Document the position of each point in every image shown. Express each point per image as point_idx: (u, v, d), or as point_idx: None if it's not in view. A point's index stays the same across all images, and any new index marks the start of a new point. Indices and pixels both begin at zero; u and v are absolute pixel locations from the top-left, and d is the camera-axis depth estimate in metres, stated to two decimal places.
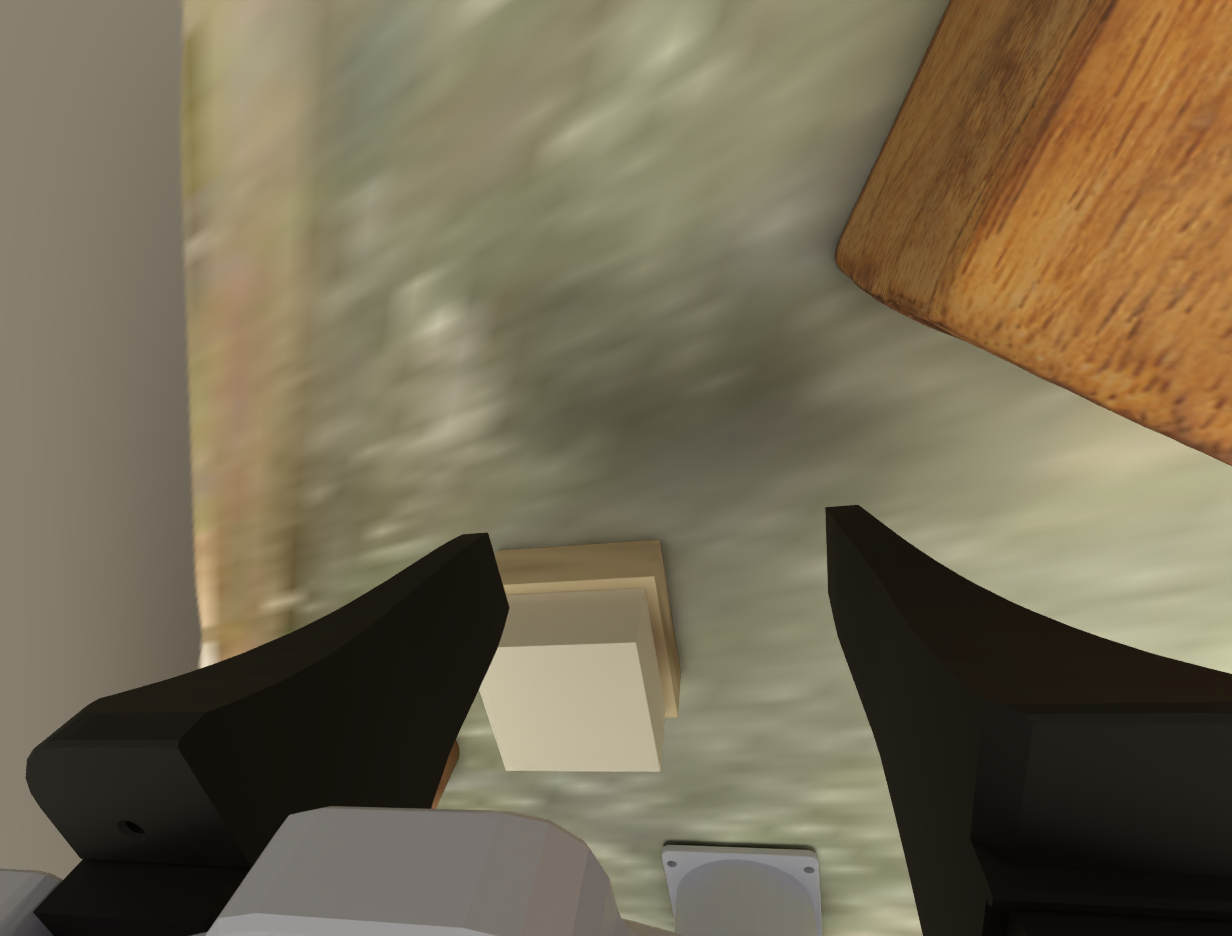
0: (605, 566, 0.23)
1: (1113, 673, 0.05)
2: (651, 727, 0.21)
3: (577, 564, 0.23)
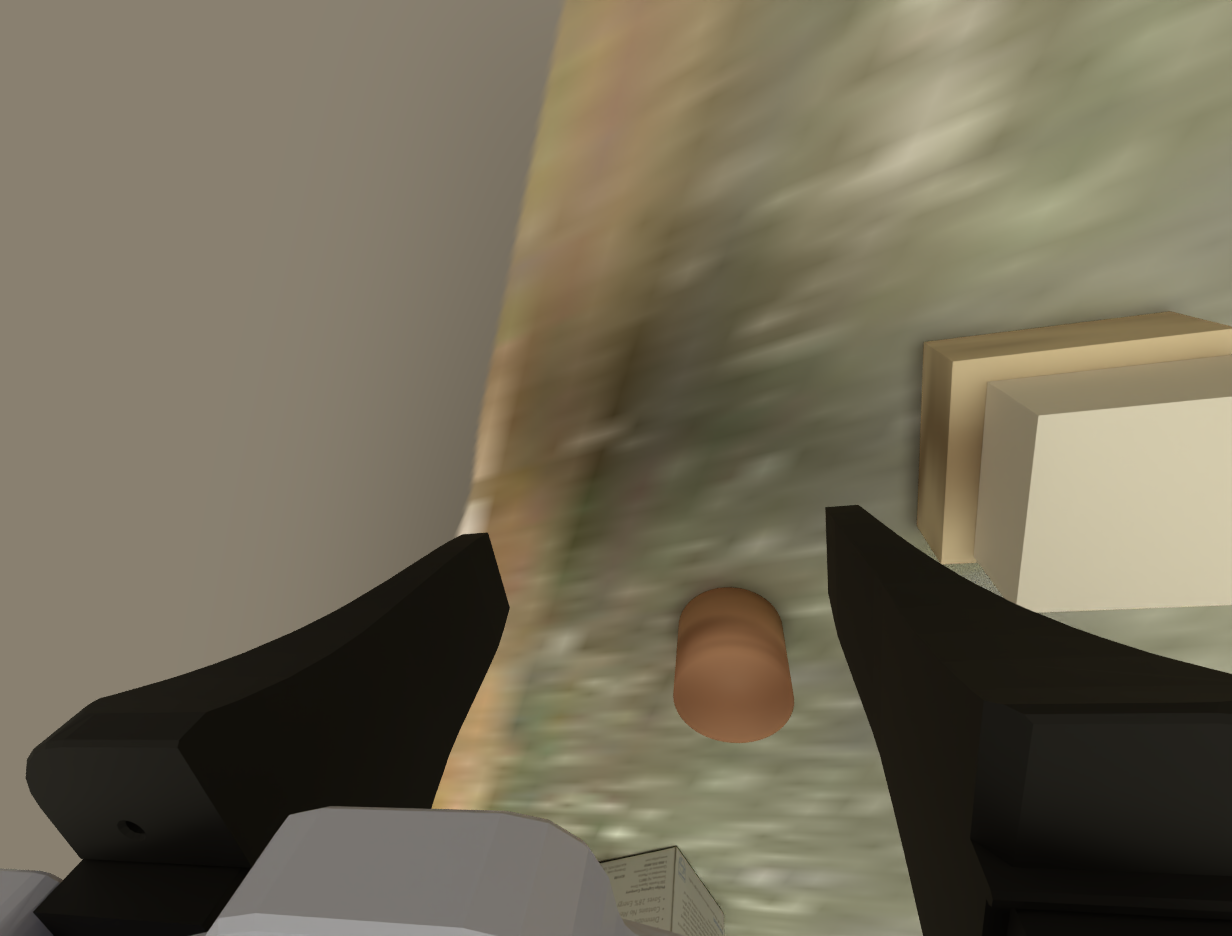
0: (1133, 331, 0.17)
1: (1111, 673, 0.05)
2: None
3: (1079, 335, 0.17)
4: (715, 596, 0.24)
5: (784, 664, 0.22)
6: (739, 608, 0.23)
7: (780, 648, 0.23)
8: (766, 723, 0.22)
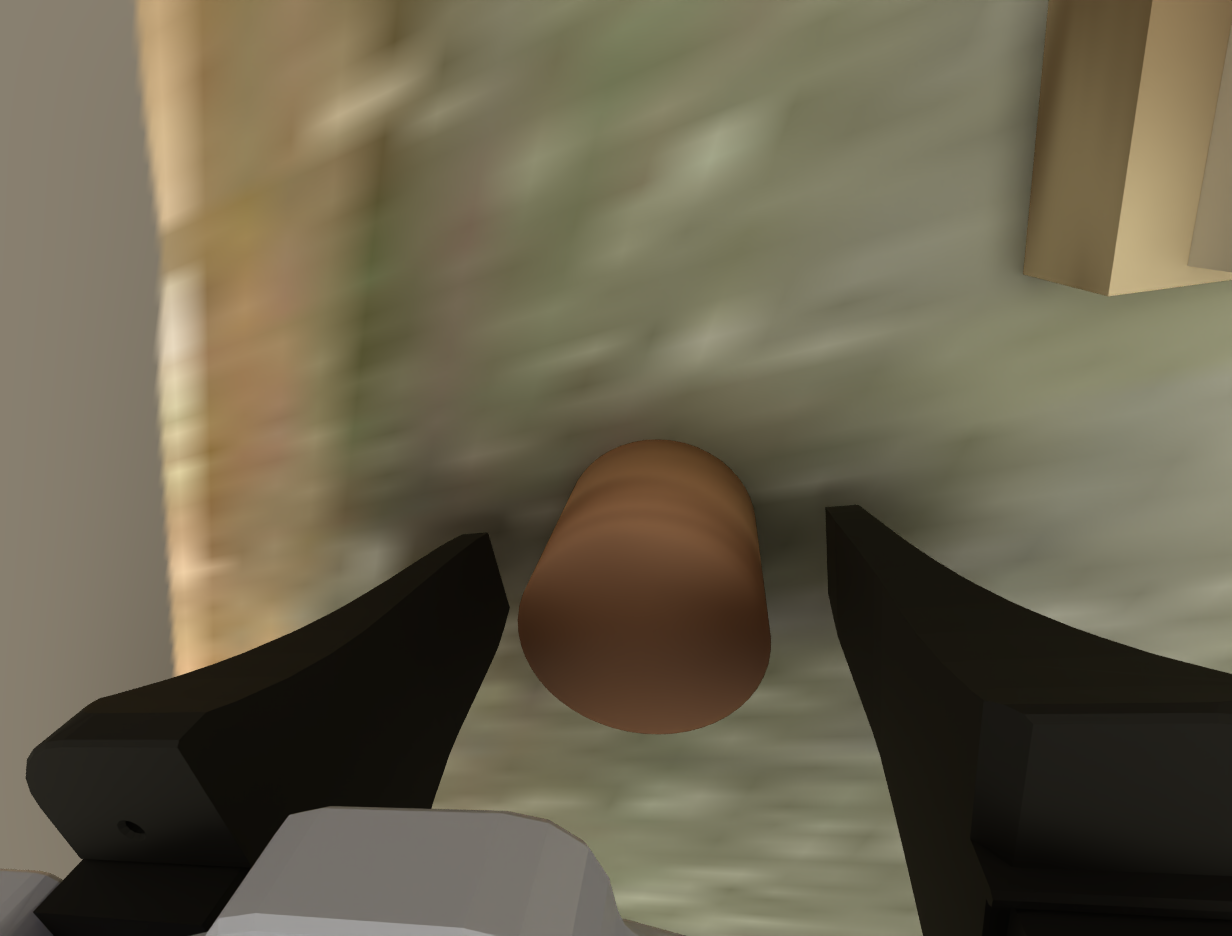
0: None
1: (1112, 671, 0.05)
2: None
3: None
4: (625, 452, 0.13)
5: (751, 565, 0.10)
6: (665, 466, 0.12)
7: (745, 537, 0.11)
8: (713, 692, 0.11)
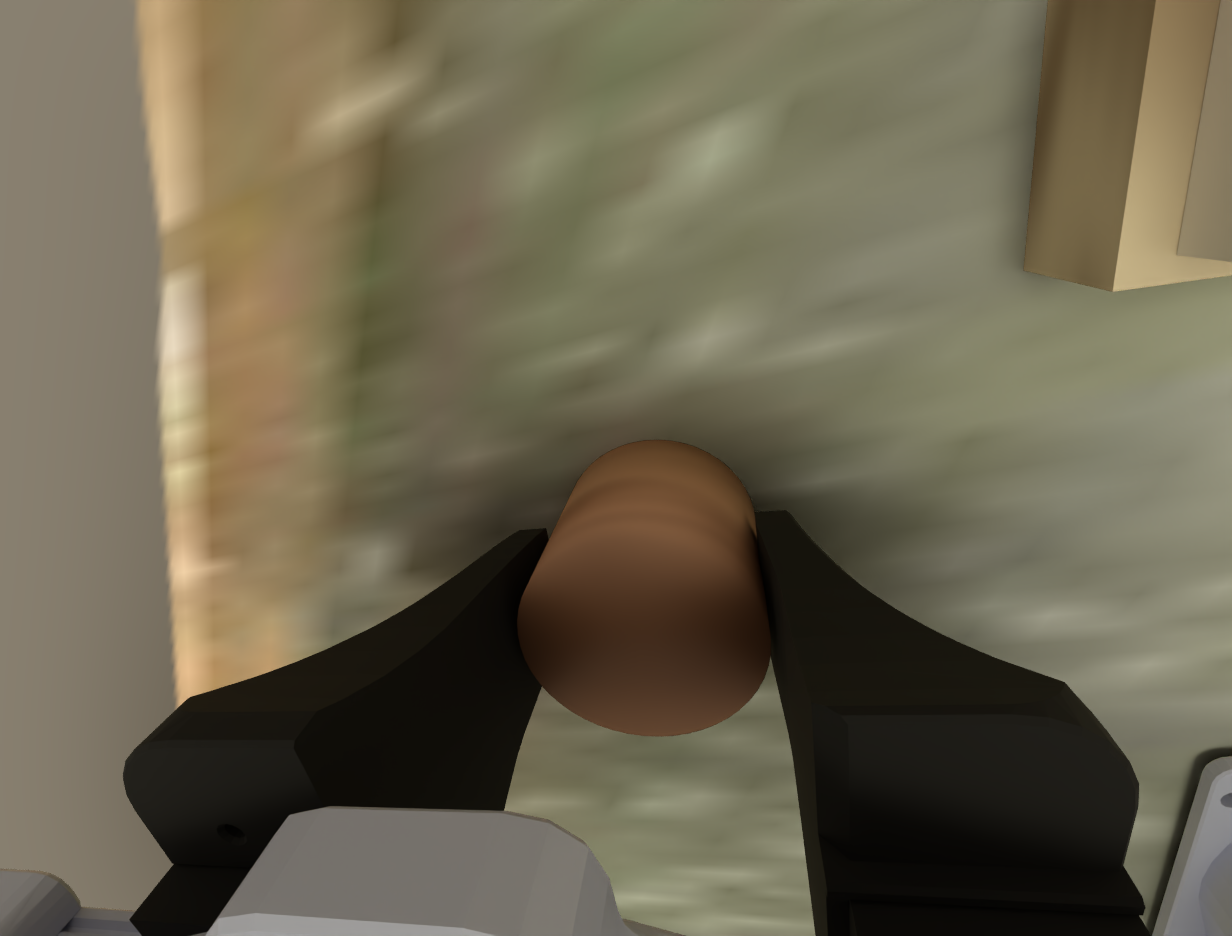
0: None
1: (946, 675, 0.05)
2: None
3: None
4: (625, 453, 0.13)
5: (751, 567, 0.10)
6: (664, 467, 0.12)
7: (745, 539, 0.11)
8: (713, 695, 0.10)
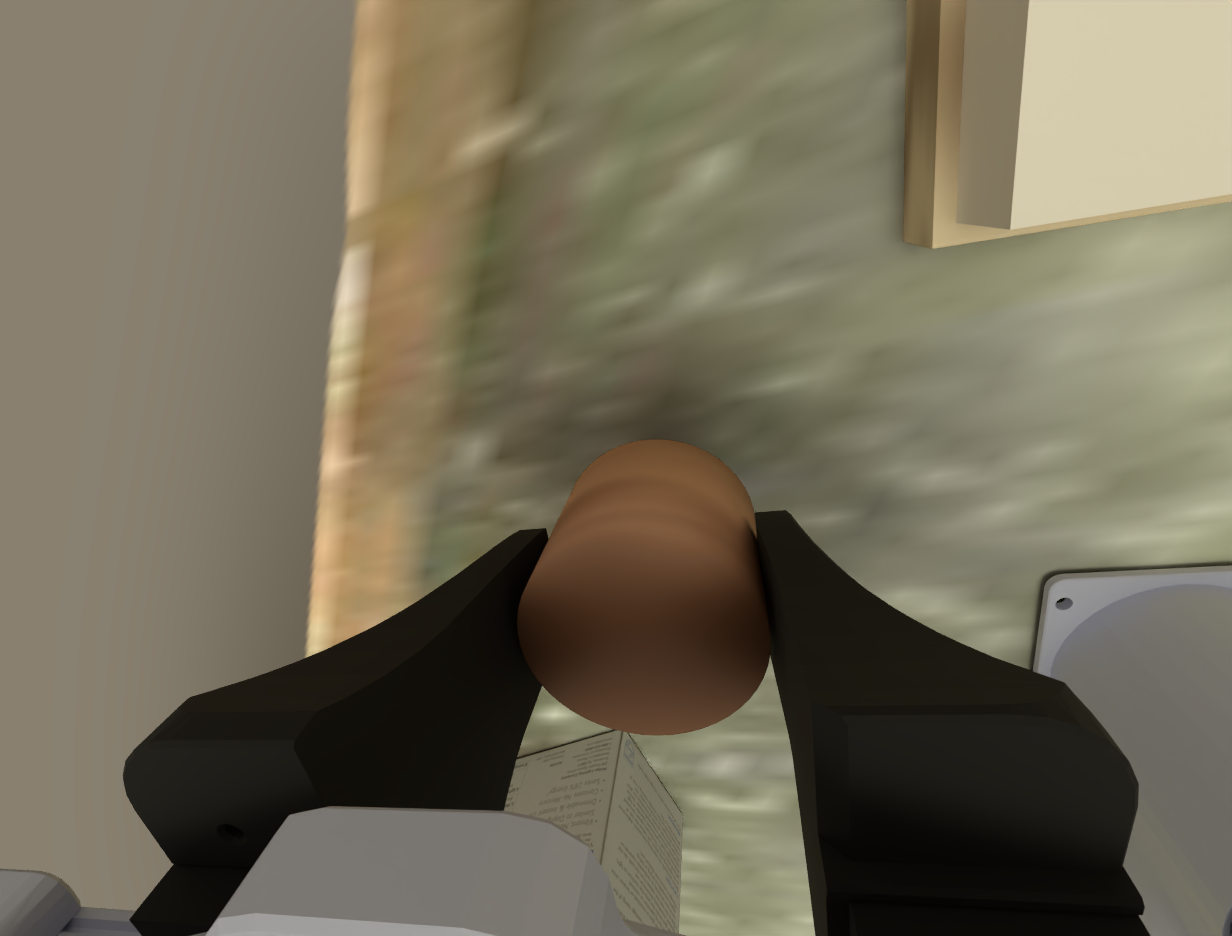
0: None
1: (946, 674, 0.05)
2: None
3: None
4: (624, 453, 0.13)
5: (751, 566, 0.10)
6: (664, 466, 0.12)
7: (744, 538, 0.11)
8: (713, 693, 0.10)
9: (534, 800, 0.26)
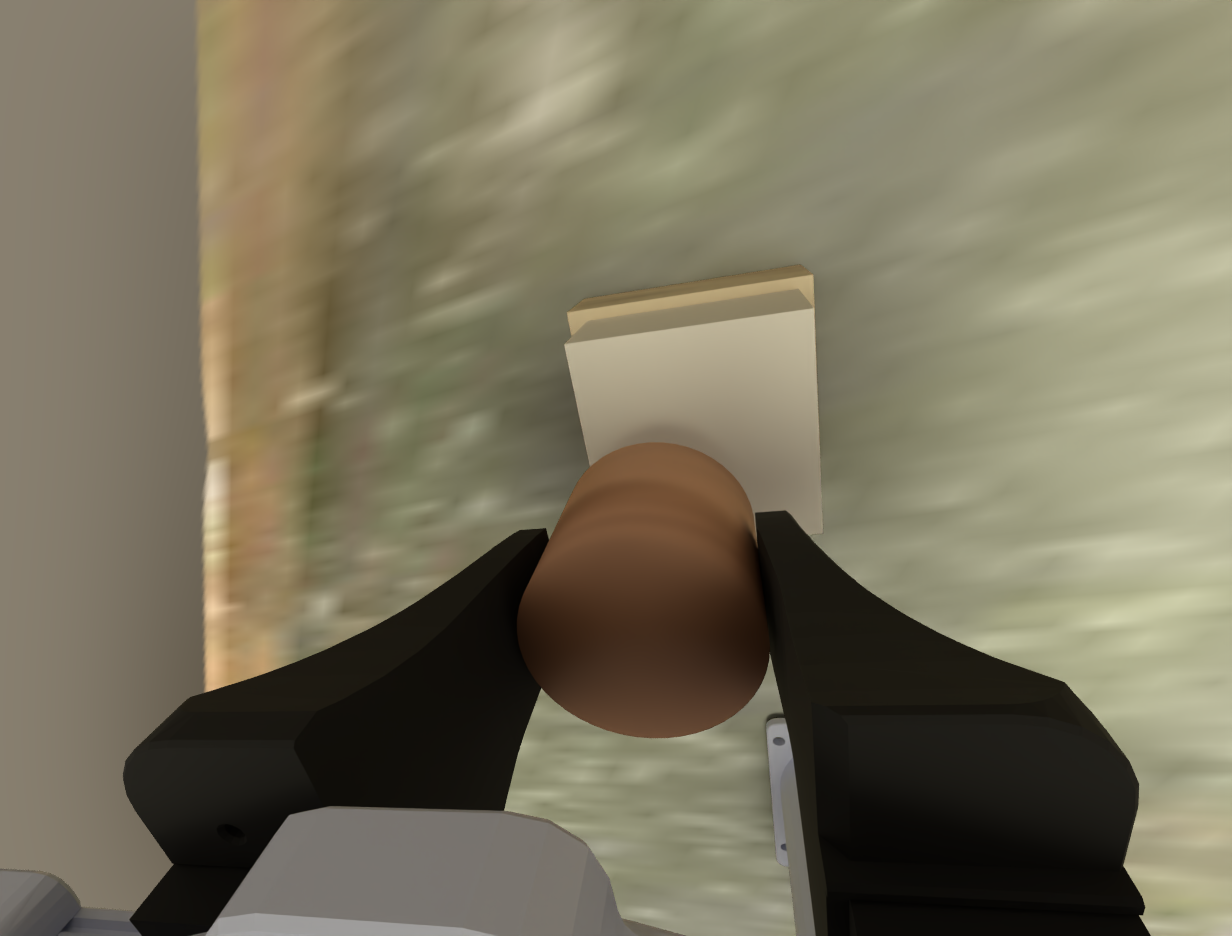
0: (738, 282, 0.17)
1: (945, 674, 0.05)
2: (819, 459, 0.15)
3: (696, 287, 0.18)
4: (629, 454, 0.13)
5: (753, 573, 0.10)
6: (668, 470, 0.12)
7: (746, 545, 0.11)
8: (710, 699, 0.11)
9: None
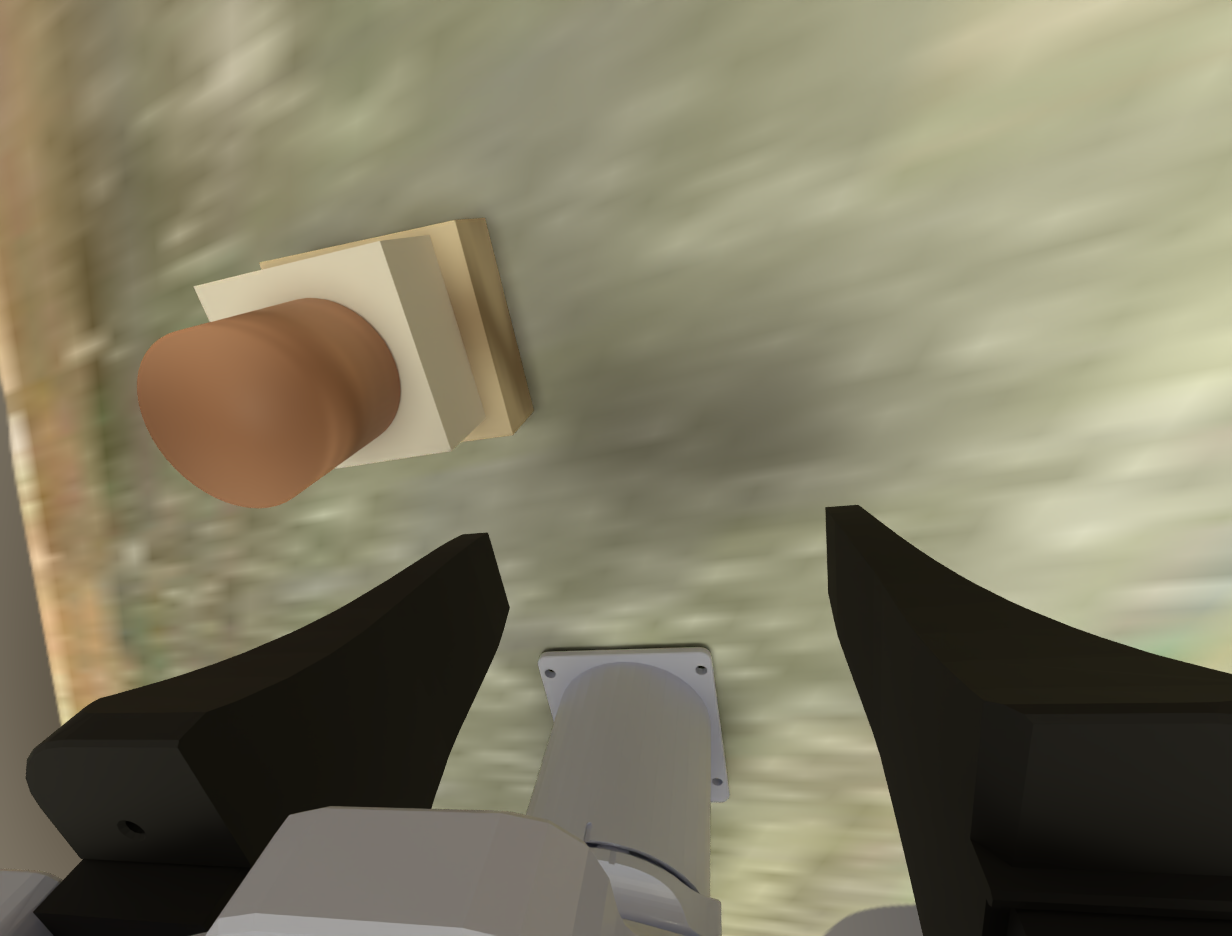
0: None
1: (1113, 673, 0.05)
2: (427, 380, 0.17)
3: None
4: None
5: (311, 372, 0.14)
6: (289, 308, 0.15)
7: (325, 359, 0.14)
8: (285, 470, 0.14)
9: None
